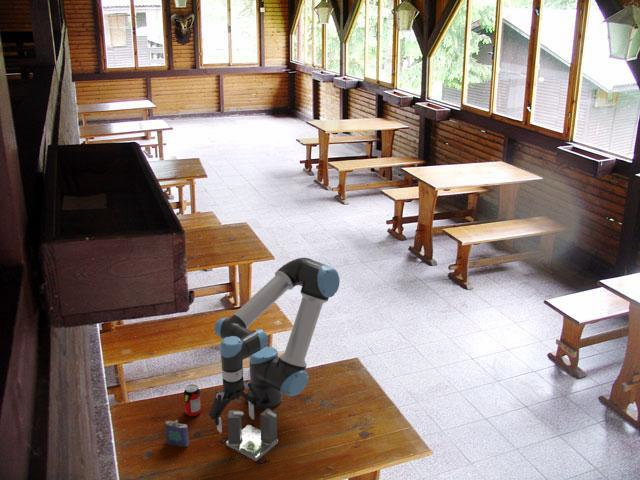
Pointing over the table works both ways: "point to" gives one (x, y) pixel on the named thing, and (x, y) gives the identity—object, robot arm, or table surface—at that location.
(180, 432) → the flask
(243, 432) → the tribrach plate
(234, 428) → the grey upright post
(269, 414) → the grey tall block
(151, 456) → the table surface
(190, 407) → the beverage can
